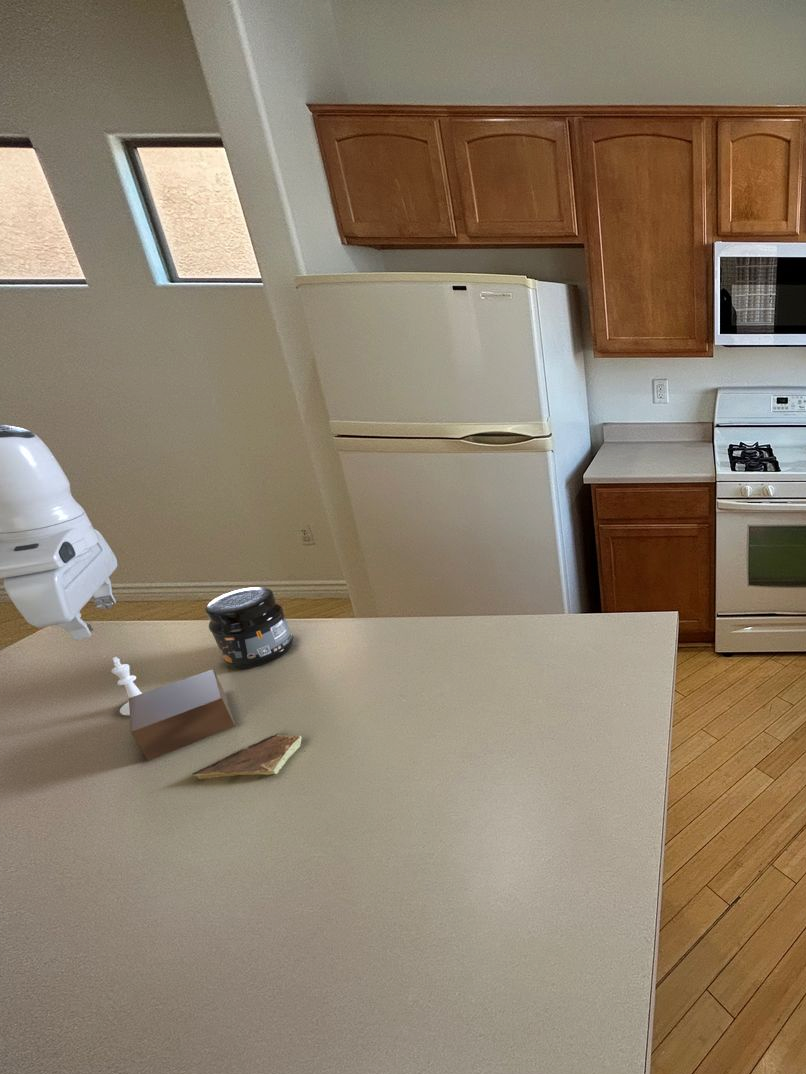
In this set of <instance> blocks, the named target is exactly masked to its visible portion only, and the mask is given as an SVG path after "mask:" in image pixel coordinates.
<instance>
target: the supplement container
mask: <svg viewBox="0 0 806 1074" xmlns="http://www.w3.org/2000/svg"><path fill="white" fill-rule="evenodd" d="M204 612H205V614H206V616H207V618H208V620H209V623H208V630H209V631H210V633H211V634H212V636H213V638H214V641H215V643H216V644H217V647H218V649H219V651H220V654H221V656H222V659H223V662H224V664H225V665H226V666H228V667H230V668H232V669H237V670H239V669H240V670H245V669H253V668H257V667H261V666H265V665H267V664H270V663H272V662H274V661H277V660H278V659H281V658H282V657H284V656H285V655H286V654H288V653H289V652H290V651H291V649H293V647H294V644H295V639H294V636H293V633H292V632H291V630H290V627H289V624H288V621H287V619H286V616H285V613H284V609H283V606H282V604H281V603H279V602H278V601H276V597H275V595H274V592H273V590H272V589H270V588H268V587H263V586H254V587H246V588H241V589H237V590H233V591H230V592H227V593H223V594H222V595H220V596H218V597H216V598H214V599H213V600H211V601H210V602H209V603H208V604H206V606H205V611H204Z"/></svg>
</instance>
